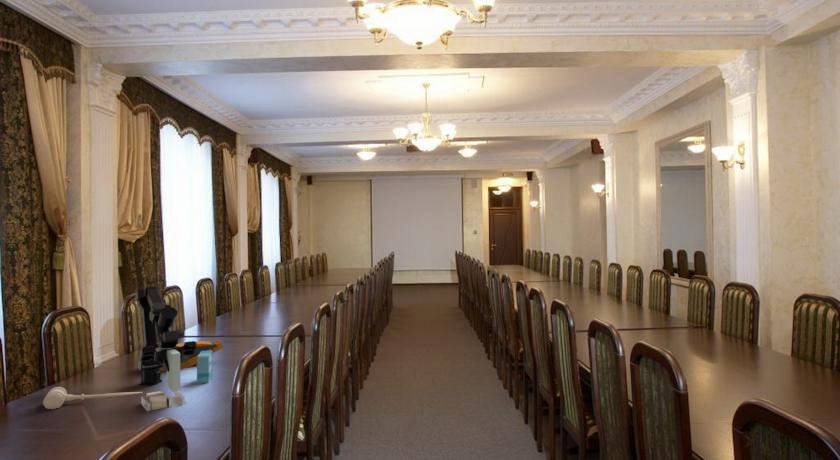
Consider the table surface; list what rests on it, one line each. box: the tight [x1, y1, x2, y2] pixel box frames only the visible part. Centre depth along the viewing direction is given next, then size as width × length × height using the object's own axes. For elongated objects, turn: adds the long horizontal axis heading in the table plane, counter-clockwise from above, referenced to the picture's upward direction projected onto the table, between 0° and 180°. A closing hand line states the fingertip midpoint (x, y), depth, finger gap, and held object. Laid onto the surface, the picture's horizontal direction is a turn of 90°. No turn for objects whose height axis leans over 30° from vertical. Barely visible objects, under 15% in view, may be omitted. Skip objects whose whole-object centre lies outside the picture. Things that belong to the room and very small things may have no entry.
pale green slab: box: [166, 349, 181, 392], centre depth 188 cm, size 8×2×13 cm, turn 39°
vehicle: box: [160, 339, 225, 372], centre depth 244 cm, size 14×34×10 cm, turn 125°
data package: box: [196, 351, 214, 384], centre depth 217 cm, size 12×4×12 cm, turn 14°
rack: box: [140, 390, 188, 412], centre depth 186 cm, size 10×13×4 cm
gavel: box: [42, 386, 143, 410], centre depth 192 cm, size 10×6×32 cm
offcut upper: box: [145, 390, 167, 404], centre depth 184 cm, size 8×5×2 cm, turn 39°
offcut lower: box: [150, 401, 167, 410], centre depth 184 cm, size 8×5×2 cm, turn 39°
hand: (172, 370), depth 188 cm, fingers closed on pale green slab, 2 cm apart
